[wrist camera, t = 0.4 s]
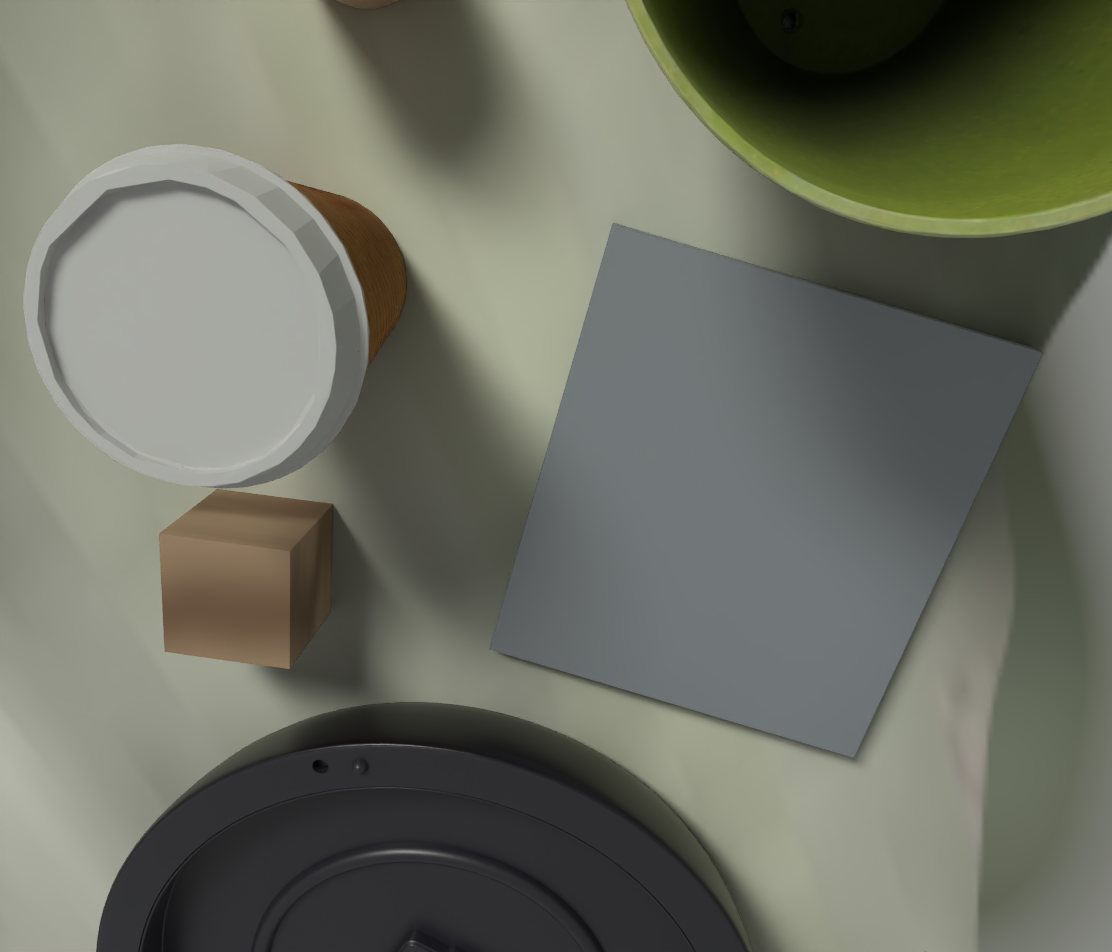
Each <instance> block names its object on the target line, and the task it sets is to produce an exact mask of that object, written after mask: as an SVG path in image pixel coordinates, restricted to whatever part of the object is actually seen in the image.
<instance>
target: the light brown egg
mask: <svg viewBox="0 0 1112 952" xmlns="http://www.w3.org/2000/svg"><path fill="white" fill-rule="evenodd" d="M336 1H338V2H340V3H343V4H345V5H348V6H351V7H356V8H363V9H372V8H380V7H384V6H387V5H390V4H392V3H395V2H397V1H398V0H336Z"/></svg>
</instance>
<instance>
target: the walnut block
mask: <svg viewBox="0 0 1112 952" xmlns="http://www.w3.org/2000/svg"><path fill="white" fill-rule="evenodd" d="M332 534H333V504H328V503H320V502H313V501H305V500H297V499H289V498H282V497H274V496H266V495H258V494H251V493H243V492H235V491H227V490H219V489H217V490H215V491H214V492H213V493H211V494H210V495H209V496H208V497H206V498H205V499H204V500H202V501H201V502H200V503H198V504H197V505H196V506H195V507H193V508H192V509H191V510H189V511H188V512H187V513H185V514H184V515H183V516H182V517H180V518H179V519H178V520H176V521H175V522H174V523H172V524H171V525H170V526H169V527H167V528H166V529H165V530H163V531H162V532H161V533H159V542H160V563H161V584H162V605H163V626H164V646H165V652H171V653H178V654H185V655H192V656H200V657H207V658H214V659H221V660H228V661H235V662H242V663H249V664H256V665H264V666H271V667H278V668H285V669H290V668H291V667H292V665H293V664H294V662H295V661H296V660H297V658H298V657H299V655H300V654H301V653H302V651H303V650H304V648H305V647H306V645H307V644H308V643H309V641H310V640H311V638H312V637H313V636H314V634H315V633H316V631H317V630H318V628H319V627H320V626H321V624H322V623H323V621H324V620H325V619H326V617H327V616H328V614H329V613H330V611H331V585H332Z"/></svg>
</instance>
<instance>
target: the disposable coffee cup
mask: <svg viewBox="0 0 1112 952" xmlns="http://www.w3.org/2000/svg"><path fill="white" fill-rule="evenodd" d="M406 288H407V281H406V269H405V265H404V261H403V257H402V254H401V251H400V249H399V247H398V245H397V243H396V241H395V239H394V238H393V236H392V234H391V233H390V231H389V230H388V229H387V228H386V226H385V225H384V224H383V222H382V221H381V220H380V219H379V218H378V217H377V216H376V215H375V214H374V213H373V212H371V211H370V210H368V209H367V208H365V207H364V206H362V205H361V204H359V203H357V202H355V201H353V200H351V199H349V198H346V197H344V196H340V195H336V194H333V193H329V192H326V191H322V190H318V189H315V188H311V187H307V186H304V185H300V184H296V183H293V182H289V181H286V180H284V179H283V178H282V177H281V176H279V175H278V174H276V173H274V172H272V171H270V170H269V169H267V168H265V167H263V166H261V165H260V164H258V163H256V162H254V161H251V160H249V159H246V158H244V157H241V156H238V155H236V154H233V153H231V152H228V151H225V150H221V149H215V148H208V147H201V146H195V145H188V144H172V145H159V146H148V147H145V148H142V149H139V150H135V151H132V152H129V153H126V154H122V155H119V156H117V157H115V158H113V159H112V160H110V161H108V162H107V163H105V164H103V165H101V166H100V167H98V168H96V169H95V170H93V171H92V172H91V173H90V174H88V175H87V176H86V177H85V178H84V179H83V180H82V181H80V182H79V183H78V184H77V185H76V186H75V187H74V188H73V189H72V190H71V192H70V193H69V194H68V196H67V197H66V198H65V200H63V202H62V203H61V204H60V205H59V206H58V208H57V209H56V210H55V211H54V213H53V214H52V215H51V216H50V218H49V219H48V220H47V221H46V223H45V224H44V226H43V228H42V230H41V232H40V234H39V236H38V238H37V240H36V242H35V244H34V246H33V249H32V252H31V256H30V259H29V263H28V266H27V270H26V279H25V289H24V298H23V308H24V315H25V322H26V329H27V336H28V343H29V345H30V348H31V351H32V354H33V357H34V360H35V363H36V366H37V369H38V372H39V374H40V376H41V378H42V380H43V381H44V383H45V385H46V387H47V388H48V390H49V392H50V394H51V396H52V397H53V399H54V401H55V403H56V404H57V406H58V407H59V408H60V409H61V411H62V412H63V413H64V414H65V416H66V417H67V418H68V419H69V421H70V422H71V423H72V424H73V426H74V427H75V428H76V429H77V430H78V431H79V432H80V433H81V434H82V435H83V436H84V437H85V438H86V439H87V440H88V441H89V442H91V443H92V444H93V445H95V446H96V447H97V448H99V449H100V450H101V451H103V452H104V453H106V454H107V455H108V456H110V457H111V458H112V459H114V460H115V461H117V462H119V463H121V464H123V465H125V466H127V467H129V468H131V469H133V470H135V471H137V472H139V473H140V474H143V475H146V476H149V477H152V478H155V479H158V480H161V481H164V482H170V483H175V484H180V485H185V486H202V487H213V488H238V487H249V486H253V485H258V484H262V483H267V482H270V481H273V480H276V479H279V478H281V477H283V476H285V475H287V474H289V473H291V472H293V471H295V470H297V469H299V468H301V467H303V466H304V465H305V464H307V463H308V462H309V461H311V460H312V459H313V458H314V457H316V456H317V455H318V454H320V453H321V452H322V451H323V450H324V449H325V448H326V447H327V446H328V445H329V444H330V442H331V441H332V440H333V439H334V438H335V437H336V436H337V435H338V434H339V433H340V431H341V429H342V428H343V426H344V424H345V423H346V421H347V419H348V418H349V416H350V414H351V413H352V411H353V409H354V408H355V406H356V404H357V401H358V398H359V395H360V391H361V388H362V384H363V381H364V377H365V373H366V369H367V367H368V366H369V364H370V363H371V361H372V359H373V358H374V357H375V356H376V354H377V352H378V350H379V349H380V347H381V346H382V344H383V343H384V341H385V339H386V338H387V336H388V335H389V333H390V332H391V331H392V330H393V328H394V326H395V325H396V323H397V321H398V319H399V318H400V315H401V312H402V309H403V306H404V303H405V297H406Z"/></svg>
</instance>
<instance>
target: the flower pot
mask: <svg viewBox="0 0 1112 952" xmlns="http://www.w3.org/2000/svg"><path fill="white" fill-rule="evenodd" d="M626 3H627V6H628V8H629V10H630V13H631V15H632V17H633V19H634V21H635V23H636V25H637V27H638V29H639V31H640V34H641V36H642V38H643V40H644V42H645V44H646V45H647V47H648V49H649V50H650V52H651V54H652V56H653V57H654V59H655V61H656V62H657V64H658V66H659V67H660V69H661V70H662V72H663V73H664V75H665V76H666V78H667V79H668V81H669V82H670V84H671V85H672V87H673V88H674V90H675V91H676V93H677V94H678V95H679V96H680V97H681V99H682V100H683V101H684V102H685V104H686V105H687V106H688V107H689V108H690V110H691V111H692V112H693V113H694V115H695V116H696V117H697V118H698V119H699V120H700V121H701V122H702V123H703V124H704V125H705V126H706V127H707V129H708V130H709V131H710V132H711V133H712V134H713V135H714V136H715V137H716V138H717V139H718V140H719V141H721V142H722V143H723V144H724V145H725V146H726V147H727V148H728V149H729V150H731V151H732V152H733V153H734V154H735V155H737V156H738V157H739V158H740V159H742V160H743V161H744V162H745V163H746V164H748V165H749V166H750V167H752V168H753V169H755V170H756V171H757V172H759V173H760V174H762V175H763V176H765V177H766V178H768V179H769V180H771V181H772V182H774V183H775V184H777V185H778V186H780V187H781V188H782V189H784V190H786V191H788V192H790V193H792V194H794V195H796V196H798V197H800V198H801V199H803V200H805V201H807V202H809V203H811V204H813V205H815V206H817V207H819V208H821V209H823V210H826V211H828V212H831V213H833V214H836V215H839V216H842V217H845V218H848V219H850V220H853V221H856V222H860V223H864V224H868V225H871V226H875V227H879V228H883V229H887V230H891V231H896V232H902V233H909V234H915V235H921V236H932V237H944V238H986V237H1001V236H1009V235H1015V234H1022V233H1028V232H1035V231H1041V230H1048V229H1053V228H1056V227H1060V226H1064V225H1068V224H1072V223H1076V222H1080V221H1084V220H1087V219H1090V218H1093V217H1096V216H1099V215H1103V214H1106V213H1109V212H1112V0H626ZM788 13H792V14H794V15H795V18H796V22H795V26H794V28H793V29H792V30H787V29H785V28H784V27H783V25H782V24H783V19H784V17H785V16H786V15H787V14H788Z"/></svg>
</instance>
